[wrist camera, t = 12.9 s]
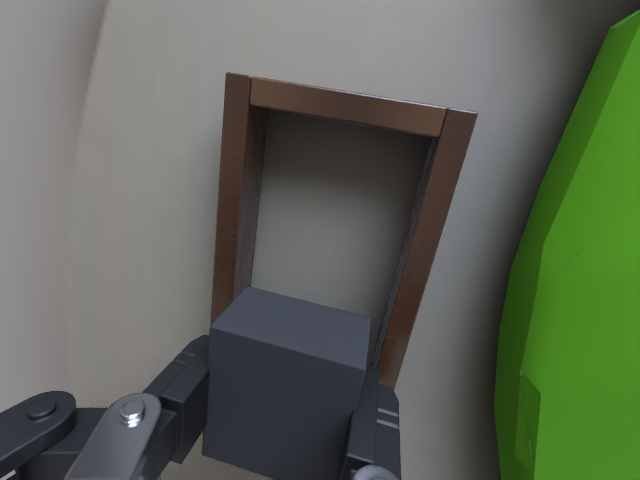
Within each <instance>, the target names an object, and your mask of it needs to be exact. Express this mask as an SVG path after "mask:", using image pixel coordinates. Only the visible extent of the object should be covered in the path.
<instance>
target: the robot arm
mask: <svg viewBox="0 0 640 480" xmlns="http://www.w3.org/2000/svg"><path fill="white" fill-rule="evenodd" d="M208 348H209V336H208V335H203V336H201V337H199V338H197V339H195V340H193V341H191V342H190V343H189V344H188V345H187V346H186V347H185V348H184V349H183V350H182V352H181V353H179V355H178V356H177V357H176V358H175V359H174V361H173V362H171V363H170V364H169V365H168V366H167V367H166V368H165V369H164V370H163V371H162V372H161V373H160V374H159V375H158V376H157V377H156V378H155V379H154V380H153V382H152V383H151V384H150V385H149V386H148V387H147V388H146V389H145V390H144V391H143V392H142V393H134V394H130V395H127V396H124V397H122V398H120V399H118V400H117V401H115V402H114V403H113V404H112V405H111V406H110V407H109V408H76V401H75V398H74V397H73V395H71V394H70V393H68V392H64V391H50V392H45V393H41V394H38V395H36V396H33V397H31V398H29V399H27V400H25V401H23V402H21V403H19V404H17V405H15V406H13V407H11V408H9V409H7V410H5V411H3V412H1V413H0V478H2V477H3V476H5V475H7V474H8V473H10V472H11V471H13V470H14V469H15V473H16V474H14V475H13V476H11V477H10V478H8V479H7V480H161V473H162V471H163V470H164V468H165V467H166V465H167V464H168V463H169V461H173V462H175V463H178V464H182V463H183V461H184V459H185V458H186V456H187V455H188V453H189V451H190V450H191V448H192V447H193V445H194V444H195V442H196V440H197V439H198V437H199V436H200V434H201V432H202V431H203V429H204V428H205V426H206V422H207V407H208V392H209V377H210V368H208V367H207V364H208ZM336 480H402V479H401V463H400V432H399V401H398V399H397V397H396V395H395V393H394V391H393V389H392V387H388V386H385V385H381V384H379V367H375V366H371V365H368V364H367V366H366V372H365V376H364V380H363V383H362V387H361V391H360V395H359V399H358V403H357V406H356V410H355V411H352V415H351V418H350V422H349V426H348V430H347V434H346V438H345V442H344V445H343V449H342V453H341V457H340V461H339V465H338V469H337V476H336Z"/></svg>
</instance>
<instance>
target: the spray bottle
mask: <svg viewBox="0 0 640 480" xmlns="http://www.w3.org/2000/svg"><path fill="white" fill-rule="evenodd" d="M494 416H495V425H496V435H497V444H498V453H499V463H500V472H501V480H640V10H638V11H637V12H635V13H633V14H631V15H630V16H628V17H626V18H625V19H623V20H621V21H620V22H618V23H616V24H615V25H613V26H611V27H610V28H609V30H608V33H607V35H606V37H605V39H604V42H603V44H602V46H601V49H600V51H599V53H598V55H597V58H596V60H595V62H594V64H593V67H592V69H591V71H590V73H589V76H588V78H587V80H586V83H585V85H584V87H583V89H582V92H581V94H580V96H579V98H578V101H577V103H576V105H575V107H574V110H573V112H572V114H571V117H570V119H569V121H568V123H567V126H566V128H565V130H564V132H563V135H562V137H561V139H560V141H559V144H558V146H557V148H556V151H555V153H554V155H553V157H552V160H551V162H550V164H549V166H548V169H547V171H546V173H545V175H544V178H543V180H542V182H541V185H540V187H539V189H538V192H537V195H536V198H535V201H534V203H533V206H532V209H531V212H530V215H529V218H528V221H527V224H526V226H525V229H524V232H523V235H522V238H521V241H520V244H519V247H518V249H517V252H516V255H515V258H514V261H513V264H512V267H511V271H510V276H509V281H508V286H507V291H506V297H505V302H504V307H503V312H502V317H501V323H500V328H499V335H498V350H497V365H496V380H495V395H494Z"/></svg>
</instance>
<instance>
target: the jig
mask: <svg viewBox="0 0 640 480" xmlns="http://www.w3.org/2000/svg"><path fill="white" fill-rule="evenodd" d="M269 110H274V111H280V112H286V113H292V114H298V115H303V116H309V117H315V118H321V119H327V120H332V121H338V122H344V123H350V124H356V125H361V126H367V127H373V128H379V129H385V130H390V131H396V132H402V133H408V134H414V135H419V136H425V137H432V139H431V143H430V147H429V151H428V154H427V158H426V162H425V166H424V169H423V173H422V177H421V181H420V184H419V188H418V192H417V196H416V199H415V203H414V207H413V211H412V214H411V218H410V222H409V226H408V229H407V233H406V237H405V241H404V244H403V248H402V252H401V256H400V259H399V263H398V267H397V271H396V274H395V278H394V282H393V286H392V289H391V293H390V297H389V301H388V304H387V308H386V312H385V316H384V319H383V323H382V327H381V331H380V334H379V338H378V342H377V346H376V349H375V353H374V357H373V361H372V364H371V366H375V367H379V384H381V385H385V386H388V387H392V389H393V391H394V388H395V385H396V381H397V378H398V375H399V371H400V368H401V365H402V362H403V358H404V355H405V352H406V348H407V345H408V342H409V339H410V335H411V332H412V329H413V325H414V322H415V319H416V316H417V312H418V309H419V306H420V302H421V299H422V296H423V293H424V289H425V286H426V283H427V279H428V276H429V273H430V270H431V266H432V263H433V260H434V256H435V253H436V250H437V247H438V243H439V240H440V237H441V233H442V230H443V227H444V224H445V220H446V217H447V214H448V211H449V207H450V204H451V201H452V197H453V194H454V191H455V188H456V184H457V181H458V178H459V174H460V171H461V168H462V165H463V161H464V158H465V155H466V151H467V148H468V145H469V142H470V138H471V135H472V132H473V128H474V125H475V122H476V119H477V115H478V113H477V112H474V111H468V110H462V109H455V108H446V107H442V106H436V105H430V104H424V103H417V102H411V101H405V100H398V99H392V98H386V97H380V96H373V95H367V94H361V93H354V92H348V91H342V90H336V89H329V88H323V87H317V86H310V85H304V84H298V83H291V82H285V81H279V80H273V79H266V78H260V77H251V76H248V75H241V74H235V73H229V72H228V73H226V81H225V98H224V114H223V130H222V147H221V163H220V179H219V196H218V212H217V229H216V245H215V261H214V278H213V294H212V310H211V325H212V324H213V323H214V321H215V320H216V319H217V318H218V317H219V316H220V315H221V314H222V313H223V312H224V311H225V310H226V309H227V308H228V307H229V306H230V305H231V304H232V303H233V301H234V300H235V299H236V298H237V297H238V296H239V295H240V294H241V293H242V292H243V291H244V290H245V289H246V288H247V287H250V284H251V274H252V265H253V255H254V246H255V236H256V226H257V217H258V207H259V197H260V188H261V178H262V169H263V159H264V149H265V140H266V130H267V120H268V111H269Z"/></svg>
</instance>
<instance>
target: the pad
mask: <svg viewBox="0 0 640 480" xmlns="http://www.w3.org/2000/svg"><path fill="white" fill-rule="evenodd" d="M370 327H371V318H369V317H365V316H361V315H358V314H354V313H350V312H346V311H342V310H338V309H334V308H330V307H326V306H322V305H318V304H314V303H310V302H307V301H303V300H299V299H295V298H291V297H287V296H283V295H279V294H275V293H271V292H267V291H263V290H259V289H256V288H252V287H247V288H246V289H245V290H244V291H243V292H242V293H241V294H240V295H239V296H238V297H237V298H236V299H235V300H234V301H233V303H232V304H231V305H230V306H229V307H228V308H227V309H226V310H225V311H224V312H223V313H222V314H221V315H220V316H219V317H218V318H217V319H216V320H215V321H214V323H213V324H212V325H211V326H210V332H209V348H208V364H207V367H208V368H210V377H209V392H208V407H207V422H206V426H205V428H204V429H203V445H202V455H204V456H207V457H210V458H213V459H216V460H219V461H222V462H225V463H228V464H231V465H234V466H237V467H240V468H243V469H246V470H249V471H252V472H255V473H257V474H260V475H263V476H266V477H269V478H272V479H275V480H336V476H337V469H338V465H339V461H340V457H341V453H342V449H343V445H344V442H345V438H346V434H347V430H348V426H349V422H350V418H351V415H352V411H355V410H356V406H357V403H358V399H359V395H360V391H361V387H362V383H363V380H364V376H365V372H366V366H367V356H368V347H369V337H370Z"/></svg>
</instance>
